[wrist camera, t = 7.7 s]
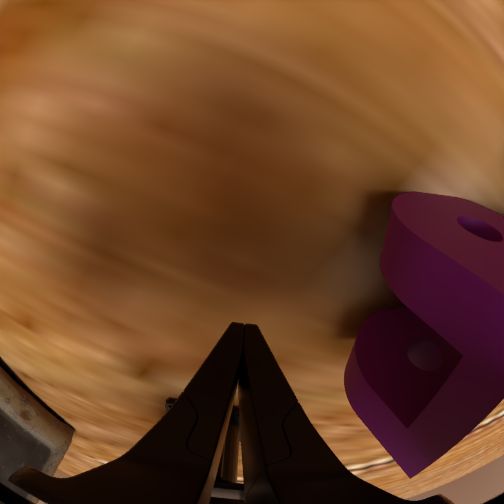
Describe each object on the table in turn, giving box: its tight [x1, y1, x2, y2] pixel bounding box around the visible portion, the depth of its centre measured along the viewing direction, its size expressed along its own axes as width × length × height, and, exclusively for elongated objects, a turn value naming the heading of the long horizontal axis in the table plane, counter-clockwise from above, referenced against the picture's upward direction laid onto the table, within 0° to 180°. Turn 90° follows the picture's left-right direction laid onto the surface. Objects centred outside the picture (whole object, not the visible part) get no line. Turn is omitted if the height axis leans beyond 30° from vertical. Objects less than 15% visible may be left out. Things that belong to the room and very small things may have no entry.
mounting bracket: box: [344, 192, 504, 479], centre depth 13 cm, size 9×8×18 cm
